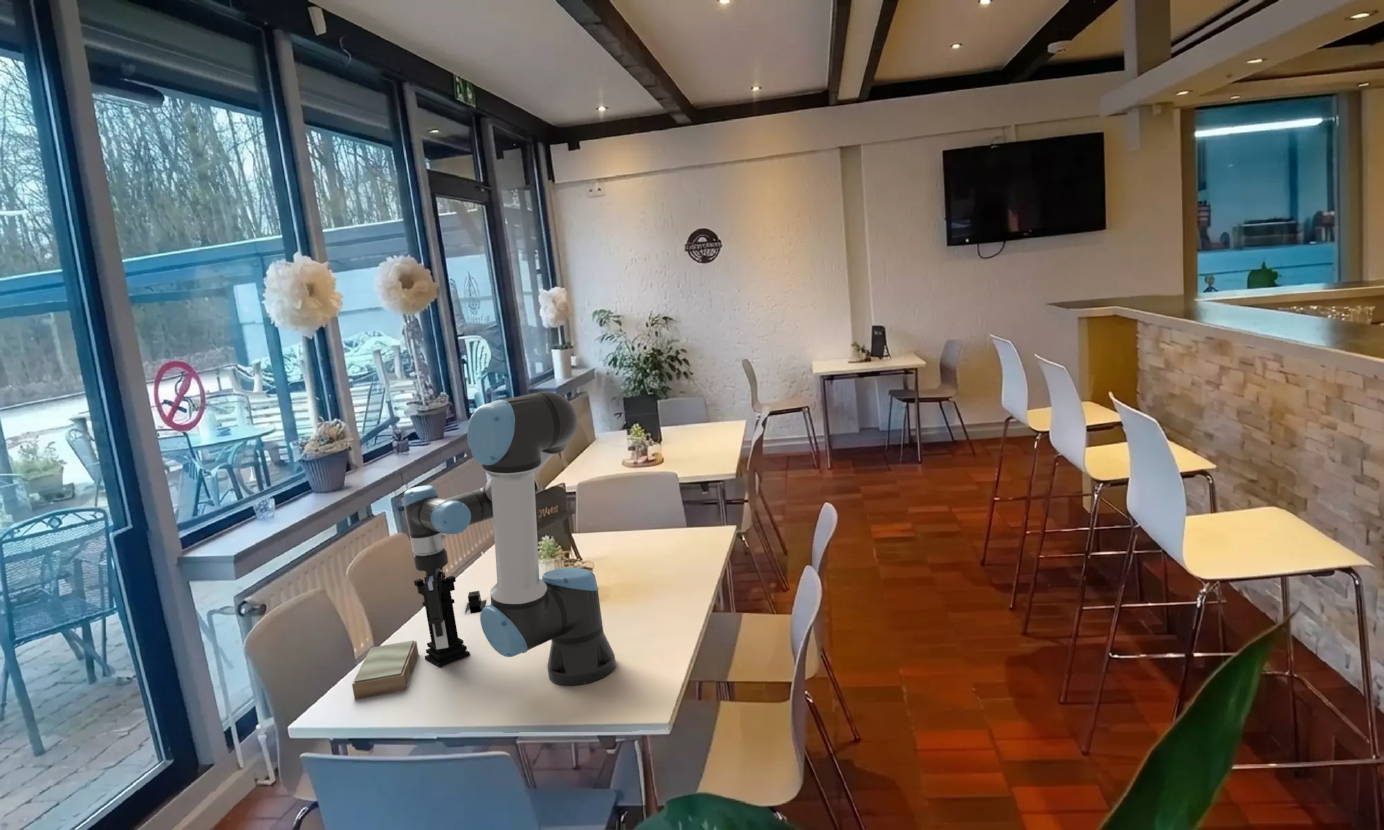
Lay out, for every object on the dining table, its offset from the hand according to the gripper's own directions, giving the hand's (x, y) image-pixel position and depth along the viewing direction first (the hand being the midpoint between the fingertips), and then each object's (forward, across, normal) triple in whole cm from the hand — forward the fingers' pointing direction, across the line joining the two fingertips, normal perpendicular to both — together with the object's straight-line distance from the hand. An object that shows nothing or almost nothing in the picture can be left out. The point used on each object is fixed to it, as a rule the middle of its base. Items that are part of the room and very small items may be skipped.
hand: (444, 640), depth 208 cm
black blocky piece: (+5, +33, -4) cm, 34 cm away
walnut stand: (+4, -5, +13) cm, 15 cm away
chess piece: (+5, 0, 0) cm, 5 cm away
